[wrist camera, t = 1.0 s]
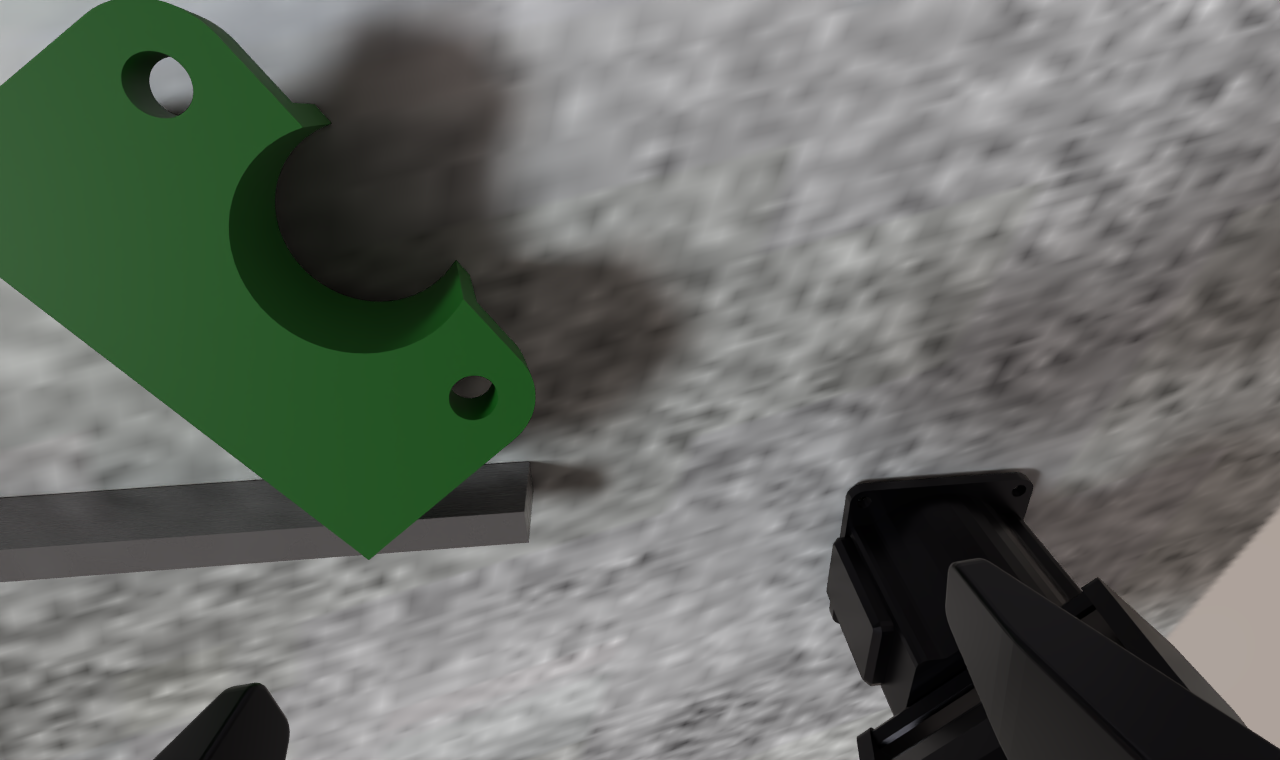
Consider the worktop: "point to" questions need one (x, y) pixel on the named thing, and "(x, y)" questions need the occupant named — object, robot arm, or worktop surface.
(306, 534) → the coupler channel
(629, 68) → the worktop surface
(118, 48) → the clamp
